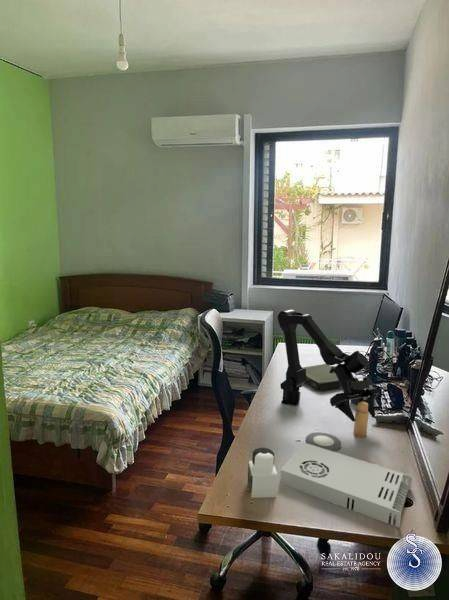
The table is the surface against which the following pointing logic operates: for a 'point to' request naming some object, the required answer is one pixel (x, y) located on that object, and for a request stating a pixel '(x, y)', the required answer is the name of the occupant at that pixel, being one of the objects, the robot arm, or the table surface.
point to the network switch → (321, 377)
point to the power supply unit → (347, 482)
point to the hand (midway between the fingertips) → (364, 419)
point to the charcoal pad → (324, 441)
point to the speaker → (357, 400)
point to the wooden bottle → (361, 420)
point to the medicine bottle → (262, 474)
